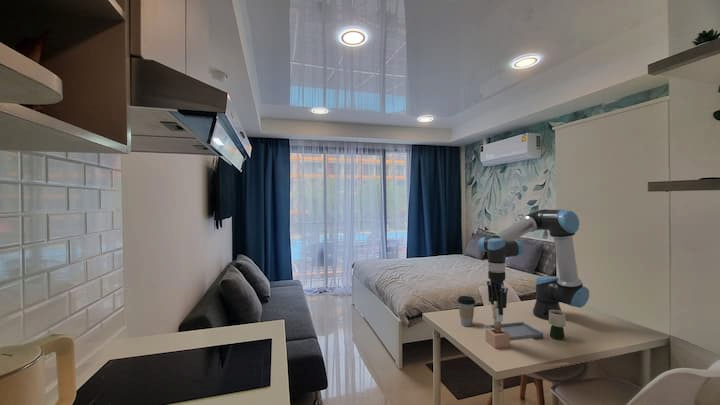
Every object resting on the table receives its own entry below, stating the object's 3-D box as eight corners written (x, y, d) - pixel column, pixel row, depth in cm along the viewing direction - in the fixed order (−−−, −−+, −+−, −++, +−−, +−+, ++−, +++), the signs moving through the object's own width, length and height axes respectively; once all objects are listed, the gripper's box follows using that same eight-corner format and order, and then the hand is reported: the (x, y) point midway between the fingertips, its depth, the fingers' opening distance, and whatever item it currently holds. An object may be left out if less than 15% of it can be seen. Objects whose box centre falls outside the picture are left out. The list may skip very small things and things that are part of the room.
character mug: (558, 333, 160) (558, 308, 160) (571, 338, 154) (571, 313, 153) (542, 336, 157) (542, 311, 156) (555, 342, 150) (555, 316, 150)
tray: (522, 325, 170) (522, 321, 170) (543, 338, 155) (543, 333, 155) (486, 329, 166) (486, 325, 166) (503, 342, 151) (503, 337, 151)
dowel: (498, 333, 150) (498, 300, 149) (502, 335, 147) (502, 302, 146) (493, 333, 149) (492, 301, 149) (496, 336, 146) (496, 303, 146)
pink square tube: (499, 341, 152) (499, 327, 152) (509, 348, 145) (509, 334, 145) (485, 343, 151) (485, 328, 151) (494, 350, 144) (494, 335, 144)
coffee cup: (464, 320, 179) (464, 294, 179) (479, 325, 172) (478, 298, 171) (454, 324, 174) (453, 297, 174) (468, 329, 166) (468, 302, 166)
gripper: (480, 267, 155) (481, 314, 155) (499, 275, 139) (500, 327, 139) (493, 266, 156) (494, 312, 156) (514, 274, 140) (515, 325, 141)
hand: (497, 319), depth 148 cm, fingers closed on dowel, 3 cm apart
